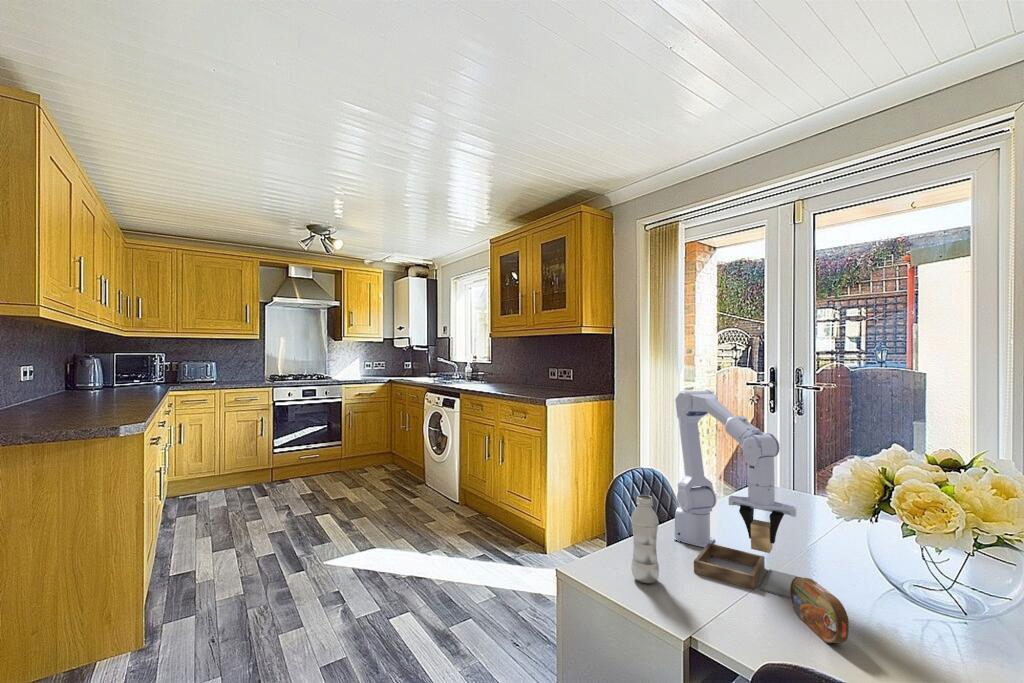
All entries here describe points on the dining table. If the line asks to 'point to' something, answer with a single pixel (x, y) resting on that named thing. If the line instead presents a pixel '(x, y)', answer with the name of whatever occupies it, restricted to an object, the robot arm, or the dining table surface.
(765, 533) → the oak block
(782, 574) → the mat
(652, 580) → the plastic bottle
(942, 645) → the dining table surface
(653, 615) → the dining table surface
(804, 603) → the tin
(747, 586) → the frame box
